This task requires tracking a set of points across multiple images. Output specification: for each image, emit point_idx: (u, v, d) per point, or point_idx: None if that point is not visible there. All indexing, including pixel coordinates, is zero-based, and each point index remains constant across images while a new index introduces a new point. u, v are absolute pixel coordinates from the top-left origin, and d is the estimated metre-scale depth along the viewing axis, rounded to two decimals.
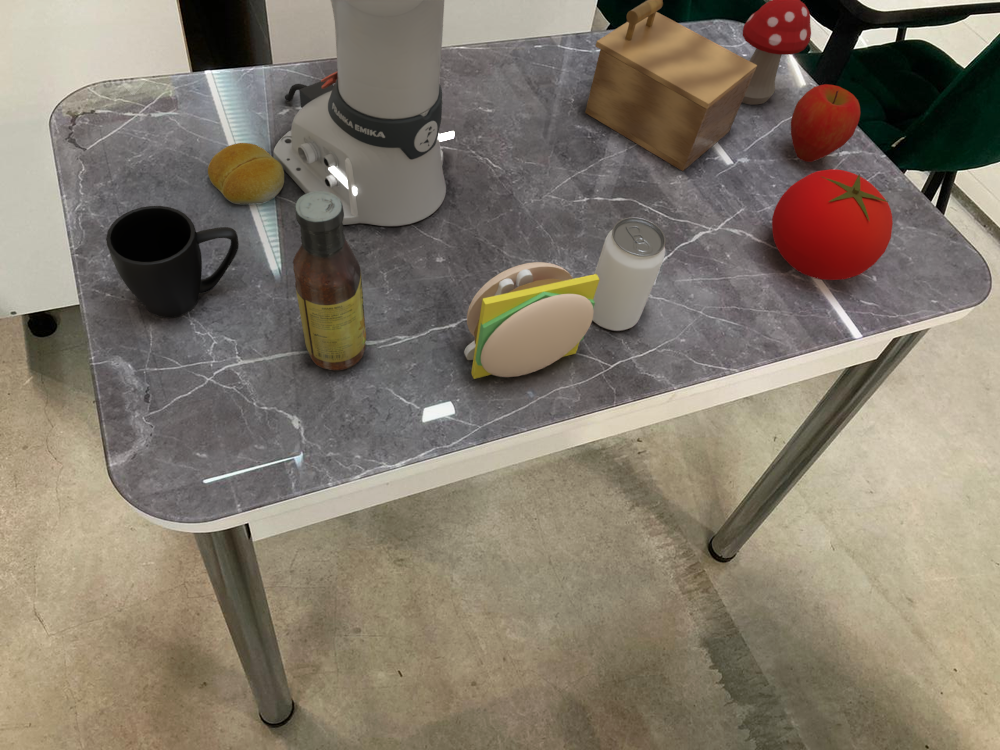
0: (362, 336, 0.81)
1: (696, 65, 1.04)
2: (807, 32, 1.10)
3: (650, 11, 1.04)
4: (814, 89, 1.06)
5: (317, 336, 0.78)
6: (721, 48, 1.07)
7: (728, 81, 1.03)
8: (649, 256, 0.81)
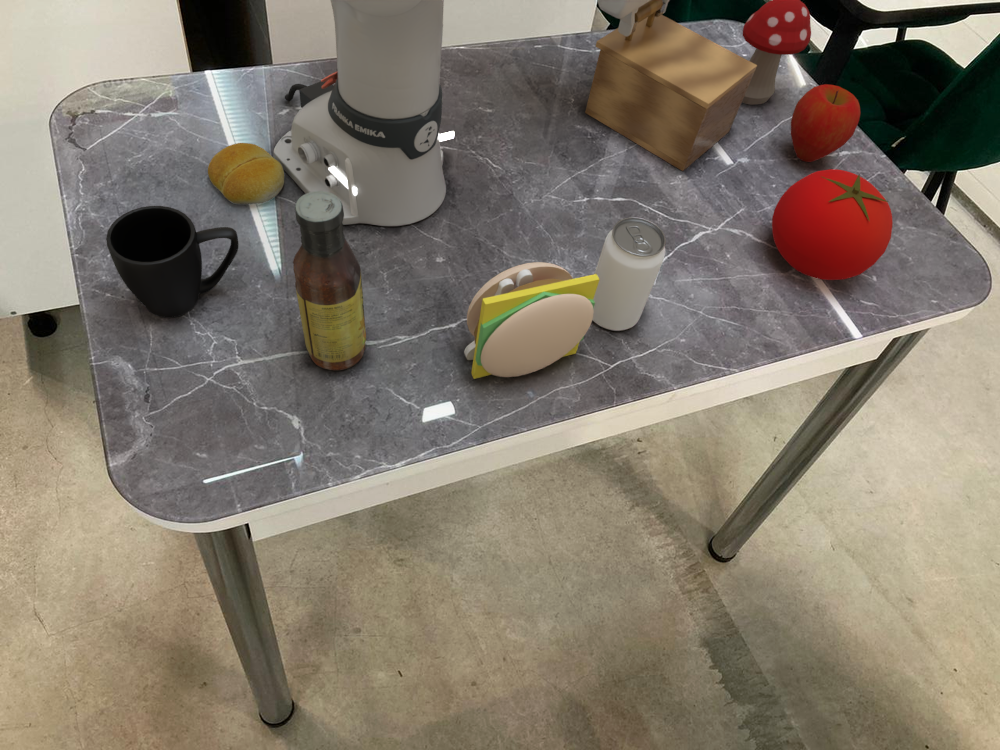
0: (362, 336, 0.81)
1: (696, 65, 1.04)
2: (807, 32, 1.10)
3: (650, 11, 1.04)
4: (814, 89, 1.06)
5: (317, 336, 0.78)
6: (721, 49, 1.07)
7: (728, 81, 1.03)
8: (649, 256, 0.81)
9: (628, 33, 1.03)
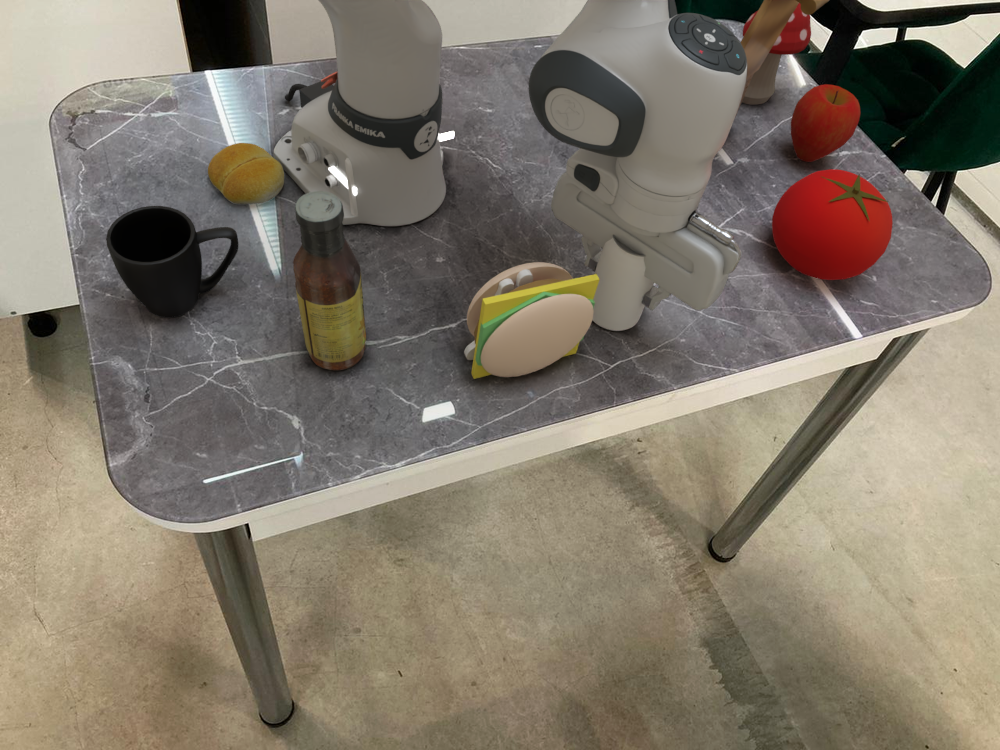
0: (362, 336, 0.81)
1: (754, 53, 0.98)
2: (807, 32, 1.10)
3: None
4: (814, 89, 1.06)
5: (317, 336, 0.78)
6: (777, 37, 1.01)
7: None
8: None
9: (585, 262, 0.89)
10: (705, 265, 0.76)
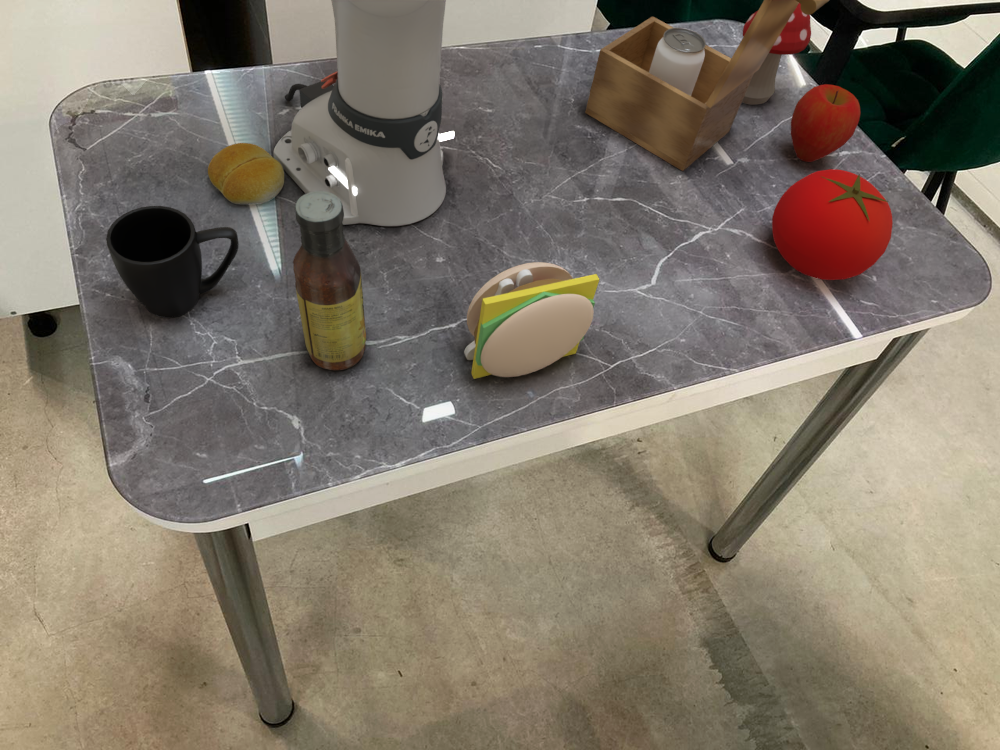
0: (362, 336, 0.81)
1: (754, 53, 0.98)
2: (807, 32, 1.10)
3: None
4: (814, 89, 1.06)
5: (317, 336, 0.78)
6: (777, 37, 1.01)
7: (737, 84, 1.02)
8: (695, 52, 1.02)
9: None
10: None
